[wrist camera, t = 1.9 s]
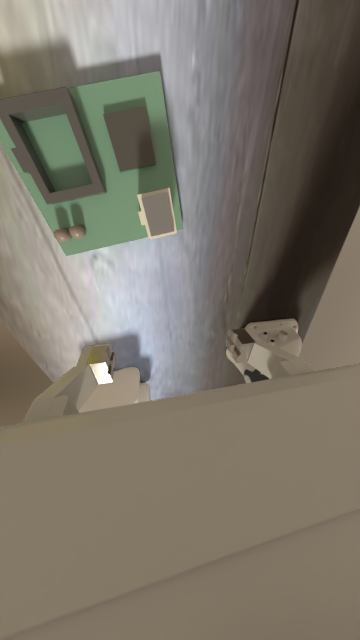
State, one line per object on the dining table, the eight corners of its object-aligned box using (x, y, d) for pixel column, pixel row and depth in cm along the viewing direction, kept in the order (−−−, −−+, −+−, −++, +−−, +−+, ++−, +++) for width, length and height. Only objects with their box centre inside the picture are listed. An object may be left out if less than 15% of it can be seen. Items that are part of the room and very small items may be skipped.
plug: (164, 190, 25) (170, 187, 19) (171, 228, 28) (177, 233, 22) (134, 197, 25) (132, 195, 19) (145, 234, 28) (145, 241, 22)
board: (158, 78, 20) (161, 55, 17) (181, 227, 29) (186, 230, 26) (-11, 111, 19) (-41, 93, 16) (69, 253, 28) (60, 259, 25)
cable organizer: (141, 362, 47) (141, 401, 38) (150, 383, 53) (151, 421, 44) (88, 375, 46) (74, 418, 37) (103, 394, 52) (95, 436, 43)
